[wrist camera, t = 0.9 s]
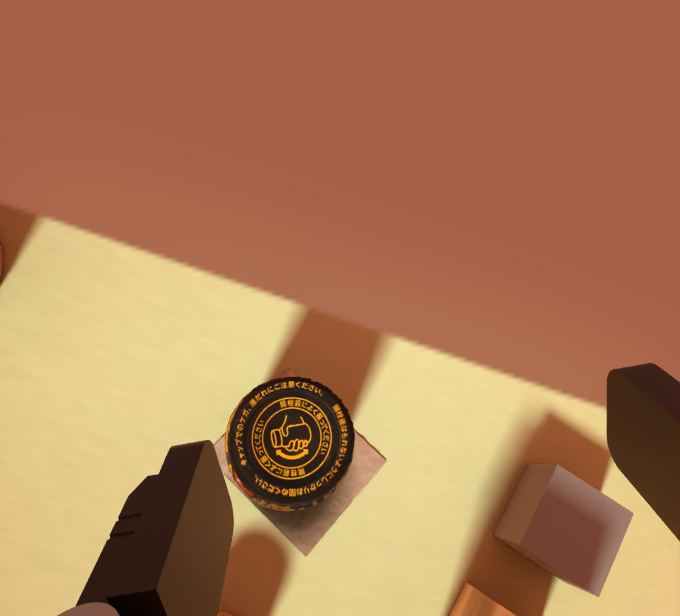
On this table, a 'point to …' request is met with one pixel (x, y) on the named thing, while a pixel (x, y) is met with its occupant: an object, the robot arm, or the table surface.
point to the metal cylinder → (224, 614)
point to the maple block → (477, 604)
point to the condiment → (296, 456)
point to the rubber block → (564, 526)
